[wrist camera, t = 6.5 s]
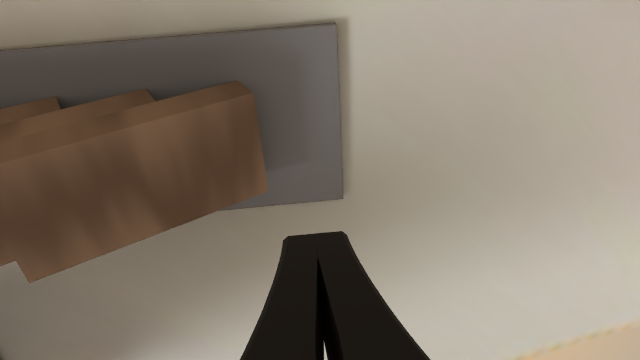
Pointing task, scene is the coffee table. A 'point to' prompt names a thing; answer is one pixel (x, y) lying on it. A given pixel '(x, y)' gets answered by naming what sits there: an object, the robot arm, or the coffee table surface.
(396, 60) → the coffee table surface
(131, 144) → the walnut tile
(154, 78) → the grey flat rectangular plate
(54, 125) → the walnut tile
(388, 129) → the coffee table surface
